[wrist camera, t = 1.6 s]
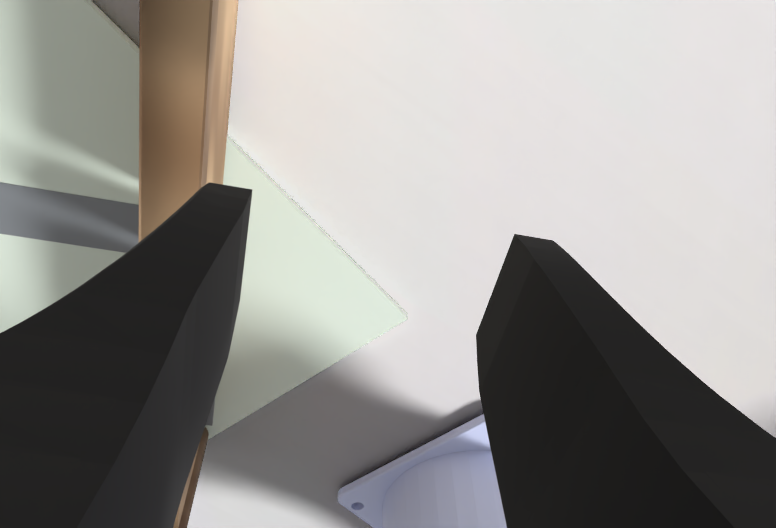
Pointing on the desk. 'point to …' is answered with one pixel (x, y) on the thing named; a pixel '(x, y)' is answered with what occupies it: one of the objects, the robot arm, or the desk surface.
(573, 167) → the desk surface
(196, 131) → the fence wing
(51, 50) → the card
